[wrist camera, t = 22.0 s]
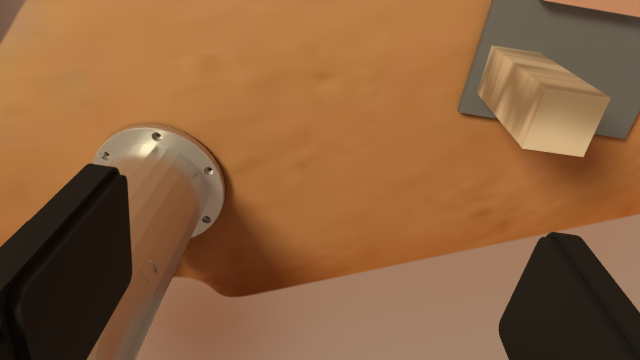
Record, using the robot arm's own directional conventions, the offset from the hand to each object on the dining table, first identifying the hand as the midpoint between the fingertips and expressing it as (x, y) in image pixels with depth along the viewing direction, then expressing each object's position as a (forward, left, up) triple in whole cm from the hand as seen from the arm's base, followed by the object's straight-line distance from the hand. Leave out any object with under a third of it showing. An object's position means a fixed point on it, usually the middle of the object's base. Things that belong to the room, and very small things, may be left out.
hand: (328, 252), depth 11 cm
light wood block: (-2, -15, -30) cm, 33 cm away
